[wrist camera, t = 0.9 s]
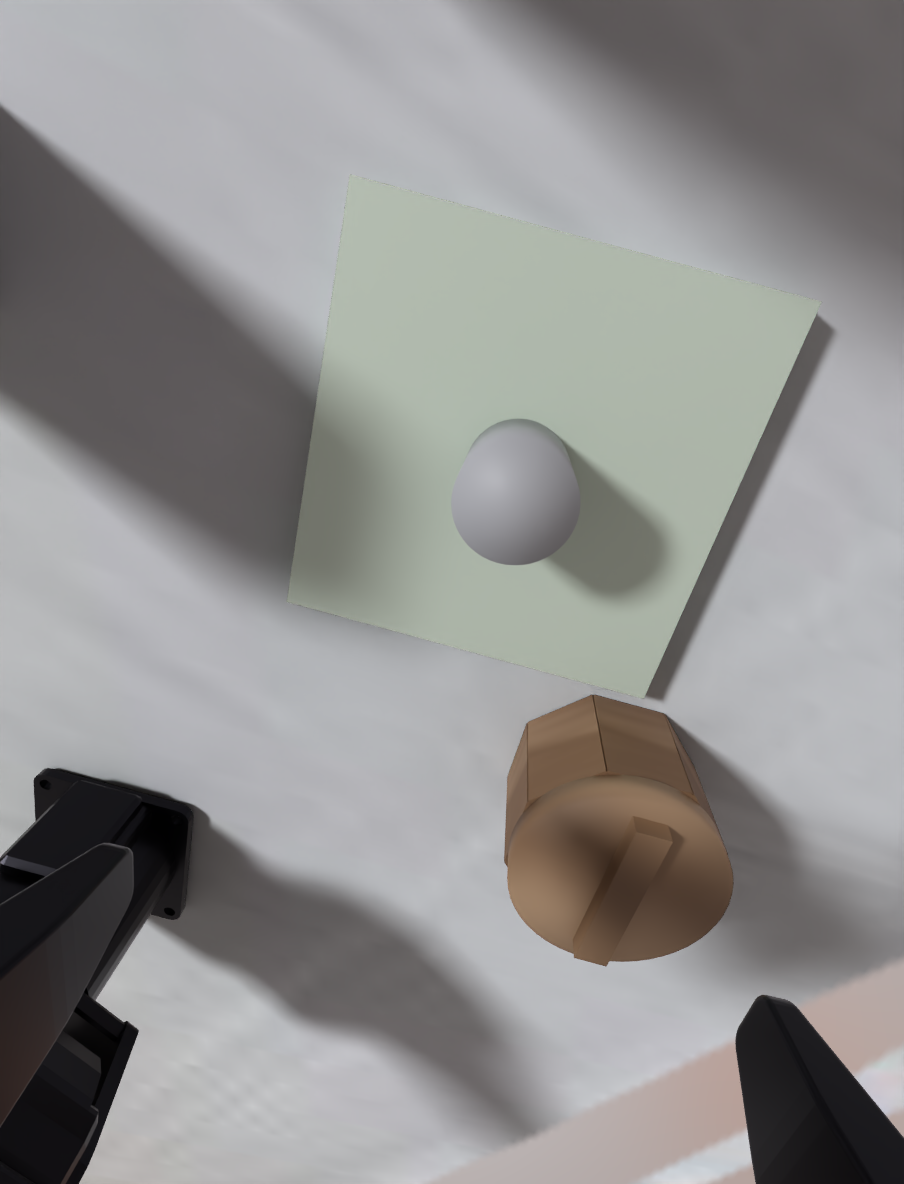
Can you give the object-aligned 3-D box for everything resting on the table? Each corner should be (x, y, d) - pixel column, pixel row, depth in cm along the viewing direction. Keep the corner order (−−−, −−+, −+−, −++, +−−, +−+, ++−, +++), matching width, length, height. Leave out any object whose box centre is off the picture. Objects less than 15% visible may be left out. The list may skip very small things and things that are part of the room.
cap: (651, 857, 24) (685, 1002, 19) (491, 814, 24) (481, 946, 19) (719, 726, 21) (781, 852, 16) (540, 677, 21) (545, 788, 16)
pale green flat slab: (638, 682, 21) (666, 769, 17) (296, 590, 21) (241, 654, 17) (805, 303, 16) (901, 294, 12) (359, 183, 16) (302, 133, 12)
